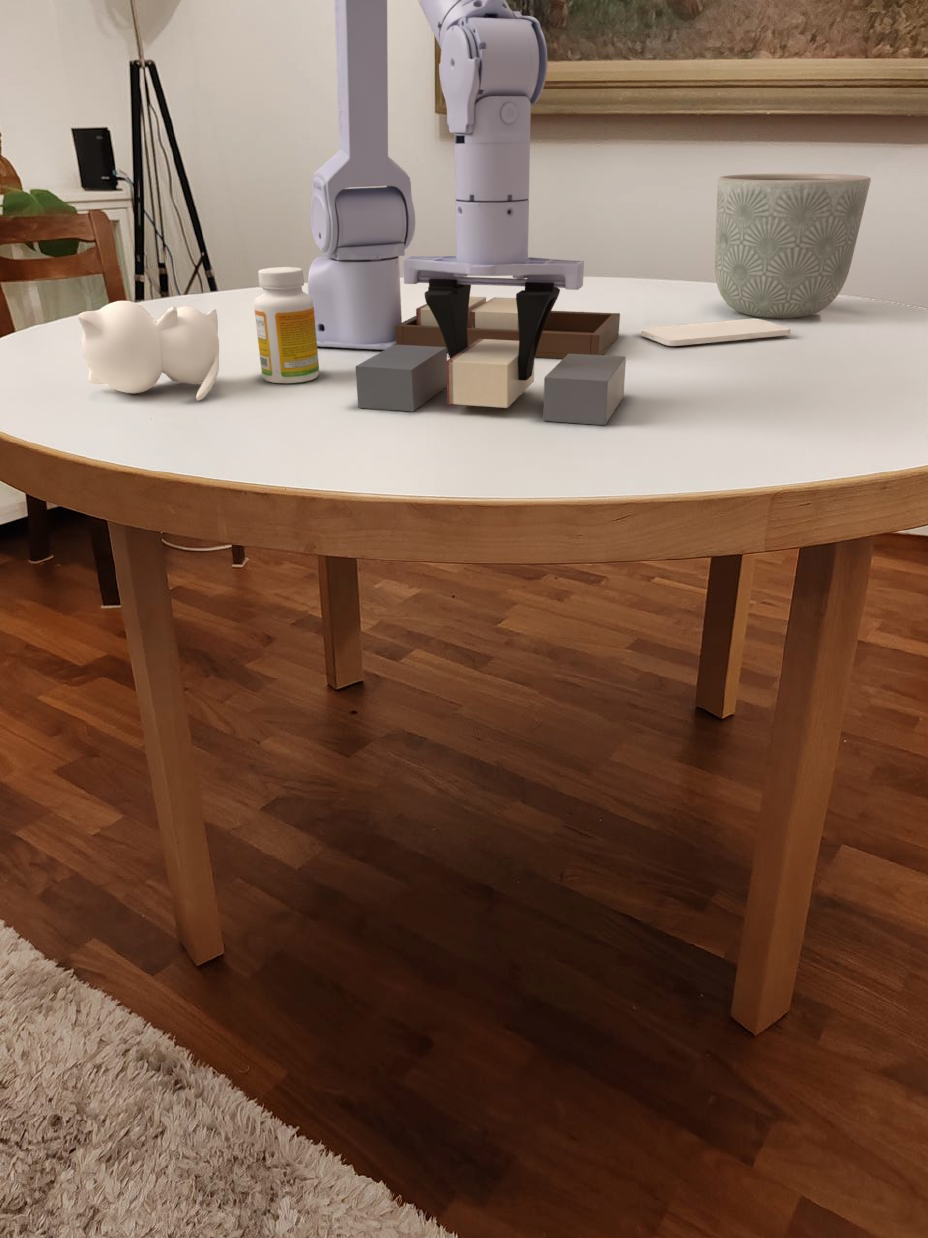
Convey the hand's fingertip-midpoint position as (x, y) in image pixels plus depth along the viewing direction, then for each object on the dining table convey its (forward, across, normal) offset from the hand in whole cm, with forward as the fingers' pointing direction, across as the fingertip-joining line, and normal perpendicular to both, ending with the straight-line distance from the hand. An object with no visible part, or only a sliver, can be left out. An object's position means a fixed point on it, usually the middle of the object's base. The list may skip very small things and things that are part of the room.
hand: (491, 375), depth 80 cm
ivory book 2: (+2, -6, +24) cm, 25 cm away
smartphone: (+2, +16, +33) cm, 37 cm away
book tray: (+2, -5, +24) cm, 25 cm away
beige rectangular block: (+1, 0, 0) cm, 1 cm away
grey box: (+2, +8, 0) cm, 8 cm away
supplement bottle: (+2, -21, +4) cm, 22 cm away
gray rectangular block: (+2, -8, 0) cm, 8 cm away
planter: (+2, +22, +50) cm, 55 cm away
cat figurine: (+2, -30, -4) cm, 30 cm away
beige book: (+2, -11, +24) cm, 27 cm away
